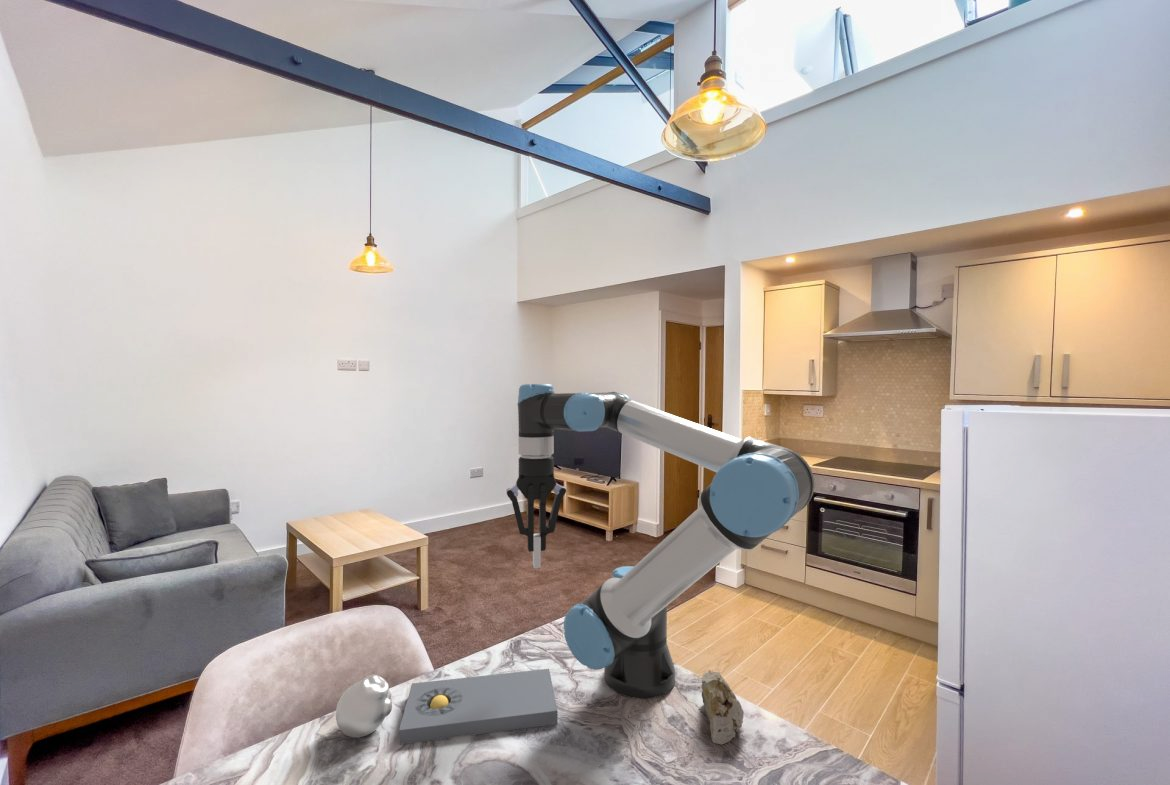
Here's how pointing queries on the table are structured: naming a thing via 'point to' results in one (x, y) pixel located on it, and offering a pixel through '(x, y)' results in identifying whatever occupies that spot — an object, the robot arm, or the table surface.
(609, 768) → the table surface
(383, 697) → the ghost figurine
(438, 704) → the ball
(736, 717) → the rock
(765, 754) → the table surface
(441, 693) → the grey flat block
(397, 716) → the table surface
